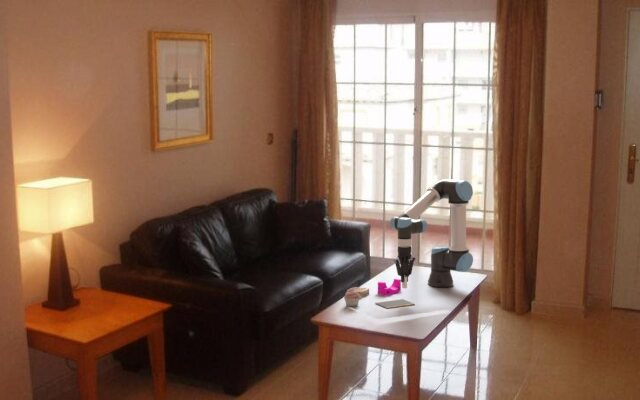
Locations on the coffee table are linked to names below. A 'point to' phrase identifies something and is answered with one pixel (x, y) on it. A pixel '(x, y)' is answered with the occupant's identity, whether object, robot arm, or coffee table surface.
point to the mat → (394, 303)
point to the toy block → (392, 289)
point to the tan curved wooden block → (361, 291)
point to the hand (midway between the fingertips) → (404, 287)
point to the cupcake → (352, 298)
